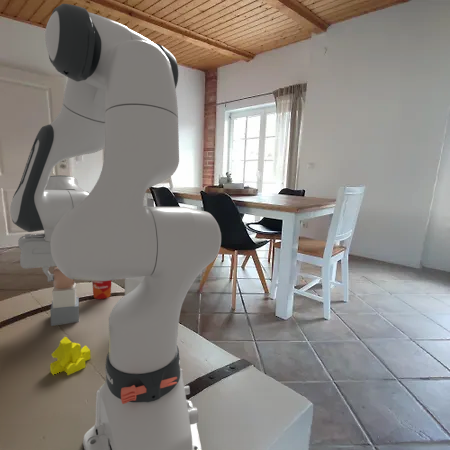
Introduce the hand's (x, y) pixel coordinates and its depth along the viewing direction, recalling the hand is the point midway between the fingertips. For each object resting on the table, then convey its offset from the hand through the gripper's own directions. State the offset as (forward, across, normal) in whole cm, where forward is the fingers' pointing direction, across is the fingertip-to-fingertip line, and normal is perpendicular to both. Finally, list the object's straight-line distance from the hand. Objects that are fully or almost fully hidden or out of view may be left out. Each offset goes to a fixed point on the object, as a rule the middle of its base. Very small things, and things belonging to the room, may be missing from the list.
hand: (64, 279), depth 82 cm
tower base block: (+12, 0, 0) cm, 12 cm away
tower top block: (+7, 0, 0) cm, 7 cm away
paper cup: (+12, +11, +13) cm, 21 cm away
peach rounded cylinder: (+2, 0, 0) cm, 2 cm away
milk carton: (+12, +20, -11) cm, 26 cm away
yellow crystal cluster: (+12, +2, -24) cm, 27 cm away
